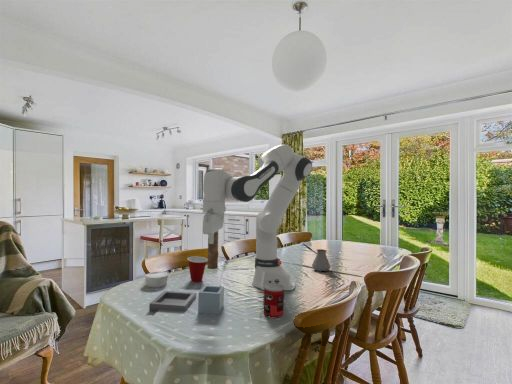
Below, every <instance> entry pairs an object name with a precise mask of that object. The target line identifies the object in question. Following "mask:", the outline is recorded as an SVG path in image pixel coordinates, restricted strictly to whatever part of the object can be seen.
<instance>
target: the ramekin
mask: <svg viewBox="0 0 512 384" xmlns="http://www.w3.org/2000/svg"><path fill="white" fill-rule="evenodd" d="M144 278H145V282H146V283H145V284H146V286H147V287H149V288H162V287H165V286H166V285H167V283H168V278H169V273H168V272H166V271H152V272H149V273H146V274H145V276H144Z"/></svg>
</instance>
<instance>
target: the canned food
mask: <svg viewBox="0 0 512 384" xmlns="http://www.w3.org/2000/svg"><path fill="white" fill-rule="evenodd" d="M284 301H285V290H284V286H282V285H279V284H267V285H265V286H264V290H263V314H264V315H265V316H266V315H267V316H266V317H268V316H270V317H269V318H272V317H277V318H280V317H279V316H281V315H282V316H283V314H284V305H285V303H284ZM282 316H281V317H282Z"/></svg>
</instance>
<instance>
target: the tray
mask: <svg viewBox="0 0 512 384" xmlns="http://www.w3.org/2000/svg"><path fill="white" fill-rule="evenodd" d="M196 298H197V292H192V291H191V292H189V291H174V290H163V292H162V293H161V292H160V294H159V295H158V296H157V297H155V298H154V299H153V300H152V301H150V303H149V309H148V310H149V312H159V311H160V310H161V311H162V310H163V311H165V310H166V311H179V312H185V311H186V310H187V309H188V308H189V307H190V305H191V304H192V303H193V302H194V301H195V300H196Z"/></svg>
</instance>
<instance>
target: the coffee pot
mask: <svg viewBox="0 0 512 384" xmlns="http://www.w3.org/2000/svg"><path fill="white" fill-rule="evenodd" d="M303 246H304V247H306V248H307V249H308V250H310V251H311V252H313V253H314V254H315V258H314V260H313V262H312V264H311V266H312V269H314V271H315V270H317V271H316V272H318V271H330V269H331V264H330V262H329V259H328V256H327V252H328V251H327V250H326V249H321V248H320V249H318V248H317V249H316V251H315V250H313V248H311V247H310V246H308V245H307V244H305V243H302V244H301V247H303Z"/></svg>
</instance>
